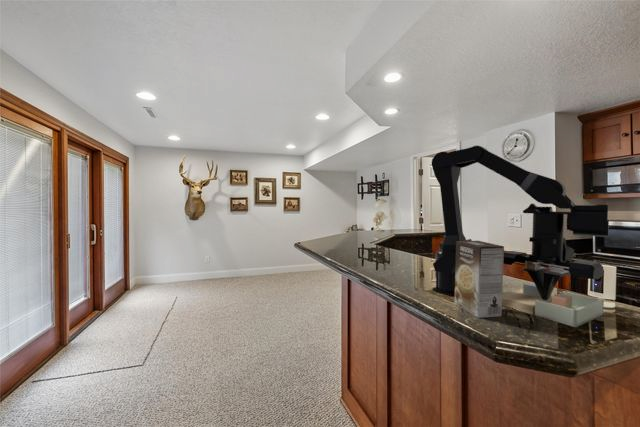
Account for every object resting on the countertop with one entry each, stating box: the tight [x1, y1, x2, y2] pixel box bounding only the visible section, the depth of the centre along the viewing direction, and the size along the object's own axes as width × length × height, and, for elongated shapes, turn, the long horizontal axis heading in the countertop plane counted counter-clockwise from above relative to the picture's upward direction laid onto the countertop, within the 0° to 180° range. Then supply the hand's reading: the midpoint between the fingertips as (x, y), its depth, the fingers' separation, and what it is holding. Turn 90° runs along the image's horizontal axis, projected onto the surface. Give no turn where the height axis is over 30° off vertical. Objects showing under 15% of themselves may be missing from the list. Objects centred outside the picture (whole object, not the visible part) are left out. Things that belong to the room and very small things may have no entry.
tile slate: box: [522, 281, 541, 298], centre depth 77 cm, size 4×4×2 cm
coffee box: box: [453, 240, 505, 319], centre depth 71 cm, size 9×6×16 cm
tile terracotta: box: [552, 293, 572, 309], centre depth 68 cm, size 4×4×2 cm
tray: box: [534, 290, 605, 328], centre depth 68 cm, size 8×14×4 cm, turn 120°
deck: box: [502, 287, 554, 315], centre depth 76 cm, size 9×14×2 cm, turn 120°
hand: (545, 299), depth 70 cm, fingers closed
